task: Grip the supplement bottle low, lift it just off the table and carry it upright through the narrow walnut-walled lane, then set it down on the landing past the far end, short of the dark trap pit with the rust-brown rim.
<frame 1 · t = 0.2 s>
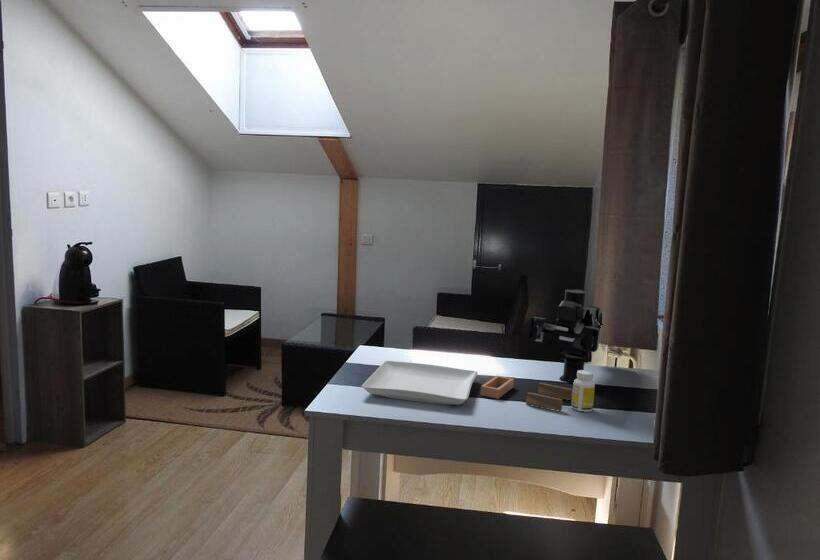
hand: (555, 340, 167), 17 cm above the table, tool horizontal, fingers open, 9 cm apart
square plate: (421, 391, 175), on the table
walled lane: (549, 402, 170), on the table
supplement bottle: (581, 409, 166), on the table
trap pit: (497, 391, 176), on the table
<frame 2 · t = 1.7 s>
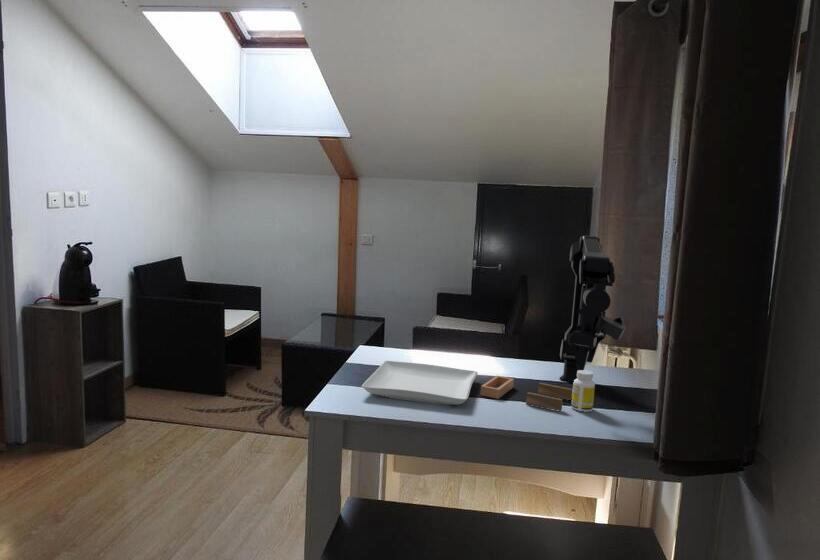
hand: (585, 366, 164), 11 cm above the table, tool pointing down, fingers open, 9 cm apart
nothing on the table moved.
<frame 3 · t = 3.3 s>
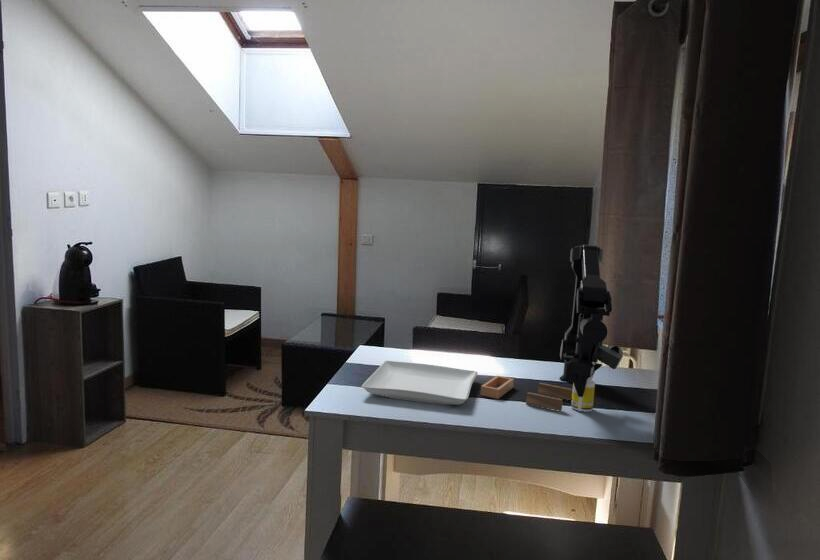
hand: (583, 393, 165), 4 cm above the table, tool pointing down, fingers closed on supplement bottle, 5 cm apart
supplement bottle: (581, 409, 166), on the table, touching gripper
everything else where it was.
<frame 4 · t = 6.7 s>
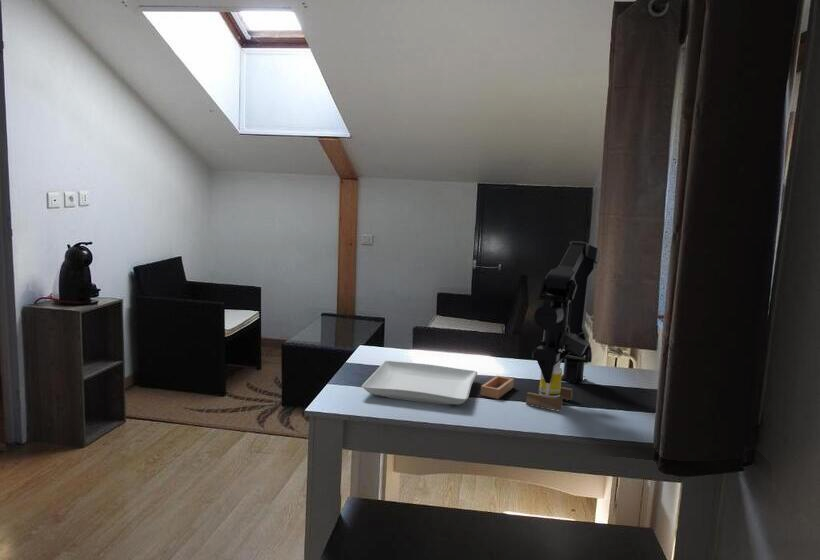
hand: (550, 380, 169), 6 cm above the table, tool pointing down, fingers closed on supplement bottle, 5 cm apart
supplement bottle: (549, 395, 169), point 2 cm above the table, touching gripper
everything else where it was.
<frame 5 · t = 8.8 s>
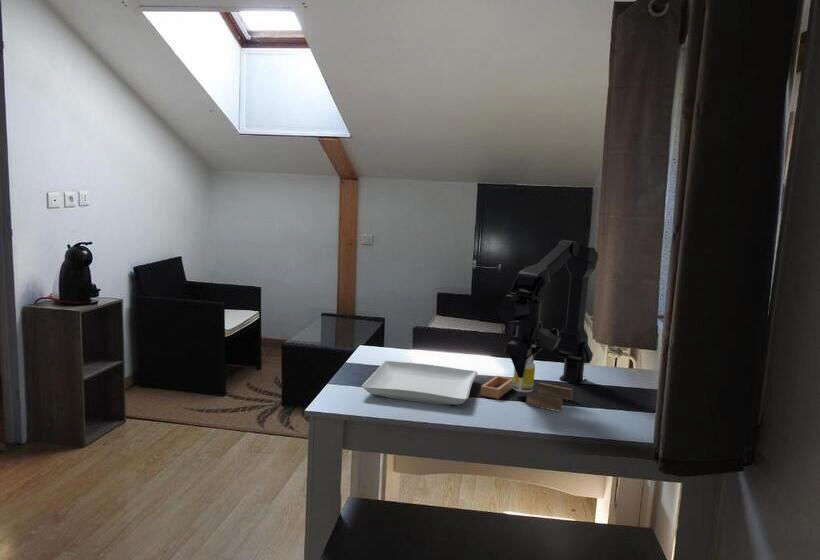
hand: (523, 375, 172), 6 cm above the table, tool pointing down, fingers closed on supplement bottle, 5 cm apart
supplement bottle: (522, 390, 173), point 2 cm above the table, touching gripper
everything else where it was.
when the fingers open (4 cm above the table, at t = 10.4 s): supplement bottle stays where it is, on the table.
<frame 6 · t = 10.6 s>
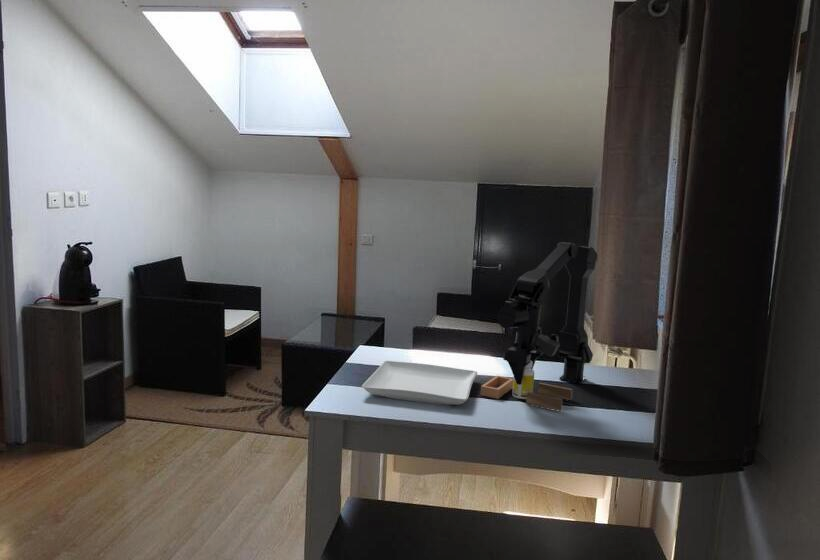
hand: (523, 380, 172), 4 cm above the table, tool pointing down, fingers open, 7 cm apart
supplement bottle: (522, 397, 173), on the table
everything else where it was.
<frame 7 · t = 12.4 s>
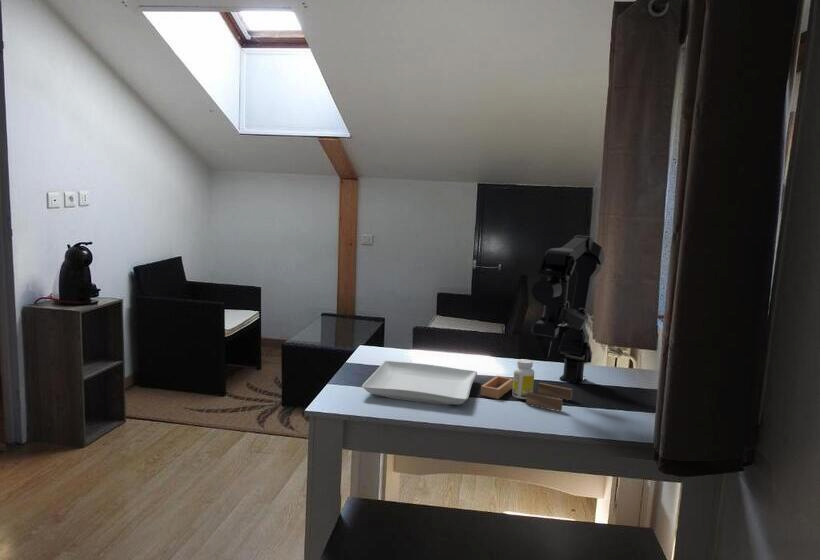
hand: (551, 354, 172), 12 cm above the table, tool pointing down, fingers open, 9 cm apart
nothing on the table moved.
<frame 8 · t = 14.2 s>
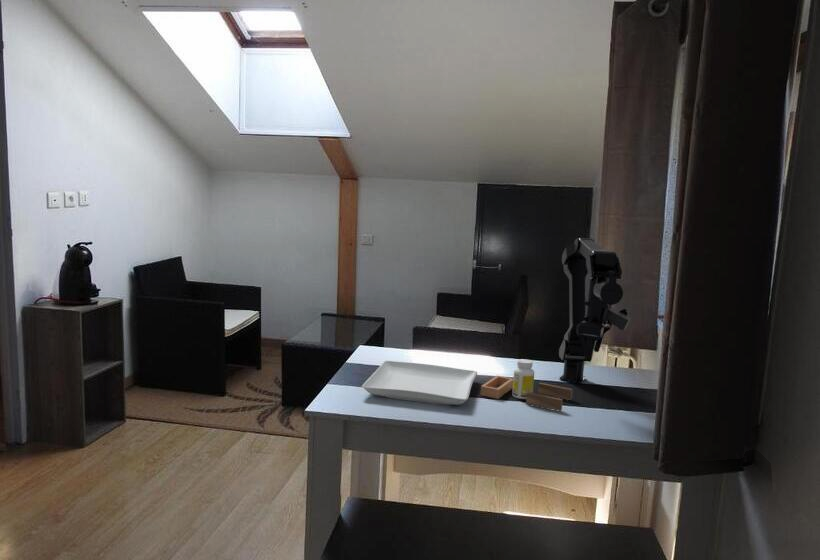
hand: (592, 355, 173), 12 cm above the table, tool pointing down, fingers open, 9 cm apart
nothing on the table moved.
at the end: supplement bottle 0.4 cm from the target spot, on the table; supplement bottle tilted 0°; supplement bottle touching table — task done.
